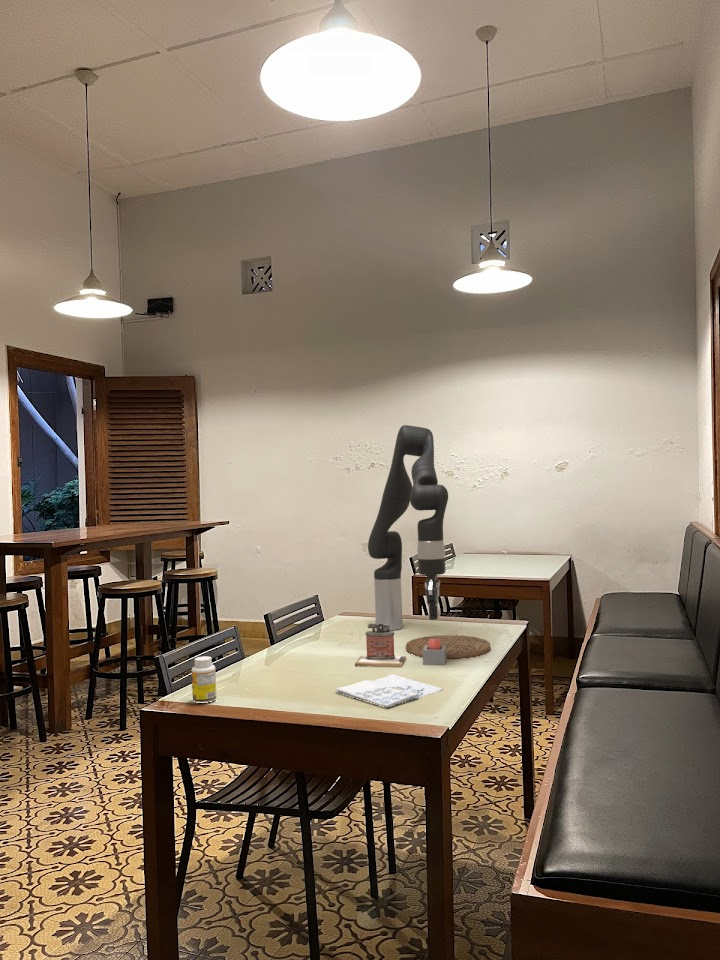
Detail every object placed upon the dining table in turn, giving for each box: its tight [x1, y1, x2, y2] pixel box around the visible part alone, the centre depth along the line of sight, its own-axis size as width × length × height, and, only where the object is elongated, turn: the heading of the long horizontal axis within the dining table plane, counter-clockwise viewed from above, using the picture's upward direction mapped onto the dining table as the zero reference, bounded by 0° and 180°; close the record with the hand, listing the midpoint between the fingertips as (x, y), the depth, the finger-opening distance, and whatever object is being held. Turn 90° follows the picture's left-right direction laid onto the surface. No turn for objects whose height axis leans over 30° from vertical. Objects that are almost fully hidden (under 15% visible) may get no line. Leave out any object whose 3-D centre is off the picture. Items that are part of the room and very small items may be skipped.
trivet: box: [405, 634, 491, 660], centre depth 218 cm, size 25×25×2 cm
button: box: [429, 639, 440, 649], centre depth 203 cm, size 3×3×4 cm
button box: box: [422, 645, 447, 666], centre depth 203 cm, size 6×6×4 cm
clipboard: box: [354, 655, 407, 668], centre depth 204 cm, size 9×13×1 cm
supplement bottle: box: [191, 655, 217, 703], centre depth 173 cm, size 6×6×10 cm
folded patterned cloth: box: [334, 673, 444, 708], centre depth 176 cm, size 19×20×2 cm
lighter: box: [365, 622, 396, 660], centre depth 205 cm, size 8×3×10 cm, turn 84°
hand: (433, 619), depth 203 cm, fingers closed
